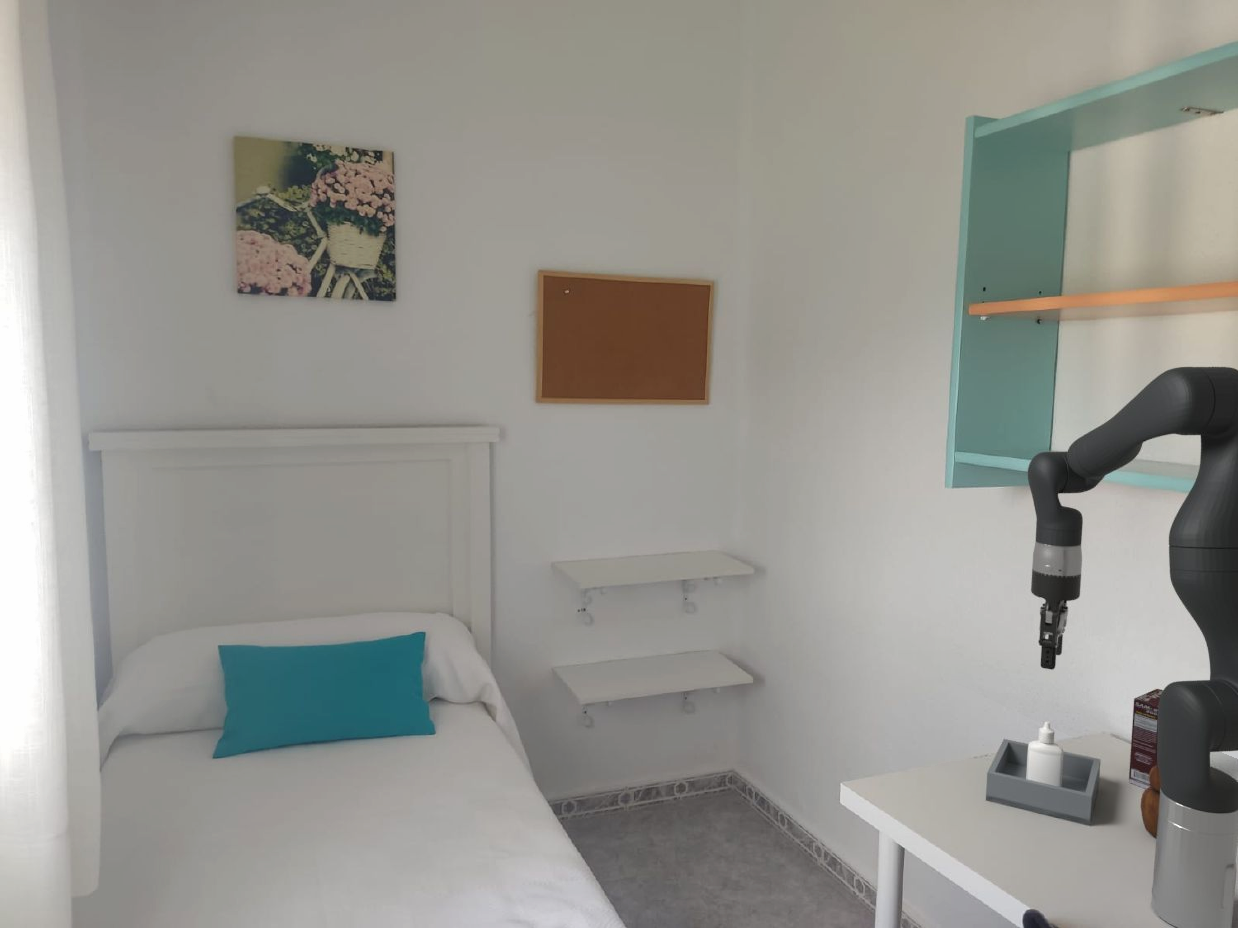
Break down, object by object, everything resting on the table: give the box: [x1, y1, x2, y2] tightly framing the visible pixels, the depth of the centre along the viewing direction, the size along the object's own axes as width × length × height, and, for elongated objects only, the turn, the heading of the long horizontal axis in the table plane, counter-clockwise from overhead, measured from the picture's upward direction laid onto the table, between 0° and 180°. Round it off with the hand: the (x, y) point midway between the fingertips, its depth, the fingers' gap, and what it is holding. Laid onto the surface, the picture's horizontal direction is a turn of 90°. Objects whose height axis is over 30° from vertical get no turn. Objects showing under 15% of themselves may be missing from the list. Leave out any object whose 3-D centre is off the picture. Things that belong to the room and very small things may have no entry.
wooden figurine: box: [1140, 762, 1161, 839], centre depth 145 cm, size 7×6×15 cm
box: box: [985, 738, 1102, 827], centre depth 159 cm, size 16×16×5 cm
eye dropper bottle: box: [1026, 721, 1064, 787], centre depth 159 cm, size 4×6×12 cm
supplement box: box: [1128, 688, 1164, 790], centre depth 163 cm, size 9×5×16 cm, turn 124°
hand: (1051, 660), depth 157 cm, fingers open, 8 cm apart
